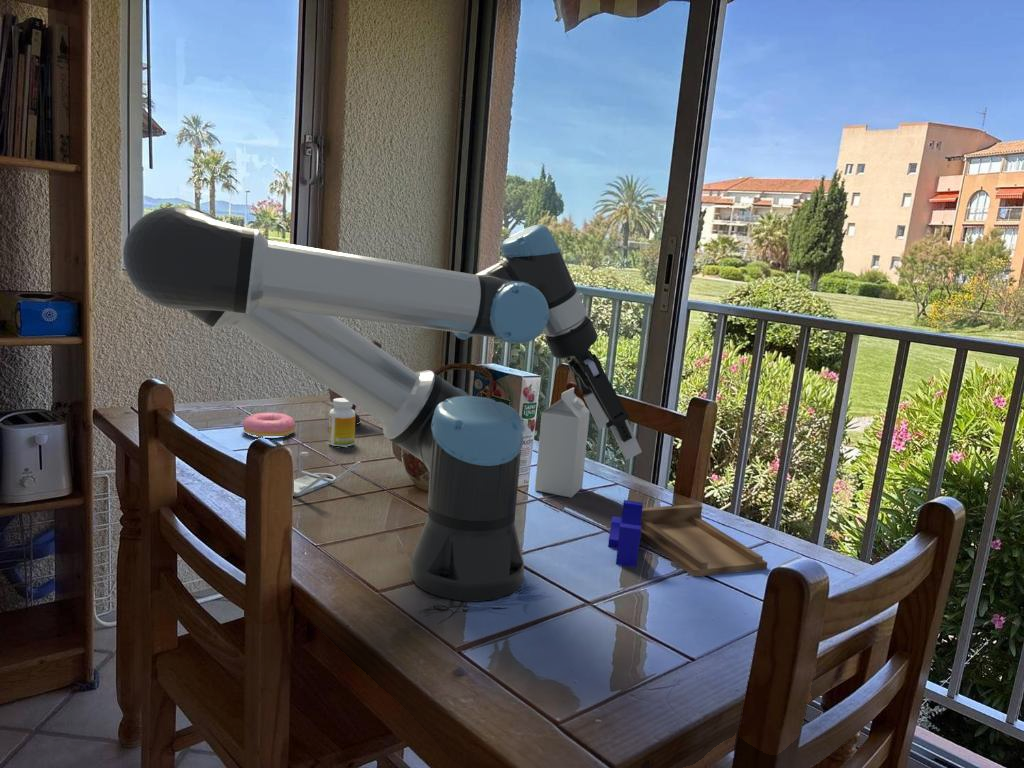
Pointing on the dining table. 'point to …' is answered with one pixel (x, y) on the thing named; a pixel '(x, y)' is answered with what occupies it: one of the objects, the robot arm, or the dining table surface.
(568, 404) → the milk carton
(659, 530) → the tray
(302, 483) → the wall mount rack
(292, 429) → the doughnut
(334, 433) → the supplement bottle
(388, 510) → the dining table surface
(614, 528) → the blue stepped block
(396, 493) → the dining table surface
